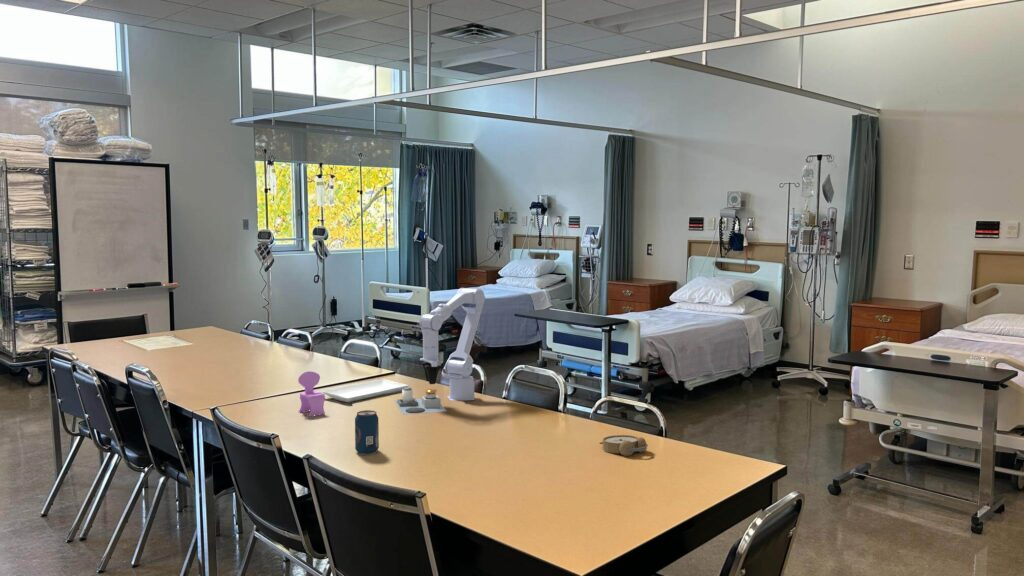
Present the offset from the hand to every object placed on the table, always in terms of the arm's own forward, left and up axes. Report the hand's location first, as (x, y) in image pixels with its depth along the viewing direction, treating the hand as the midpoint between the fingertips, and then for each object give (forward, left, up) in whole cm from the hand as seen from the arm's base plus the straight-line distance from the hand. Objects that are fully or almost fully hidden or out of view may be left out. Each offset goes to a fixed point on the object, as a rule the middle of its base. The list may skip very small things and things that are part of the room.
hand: (430, 382), depth 278 cm
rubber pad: (+7, +6, -9) cm, 13 cm away
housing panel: (+4, -1, -9) cm, 10 cm away
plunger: (0, 0, -7) cm, 7 cm away
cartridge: (+8, -5, -9) cm, 13 cm away
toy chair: (+43, -3, -10) cm, 44 cm away
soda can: (+29, +49, -10) cm, 58 cm away
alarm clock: (-46, +70, -10) cm, 84 cm away
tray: (+21, -27, -10) cm, 36 cm away
